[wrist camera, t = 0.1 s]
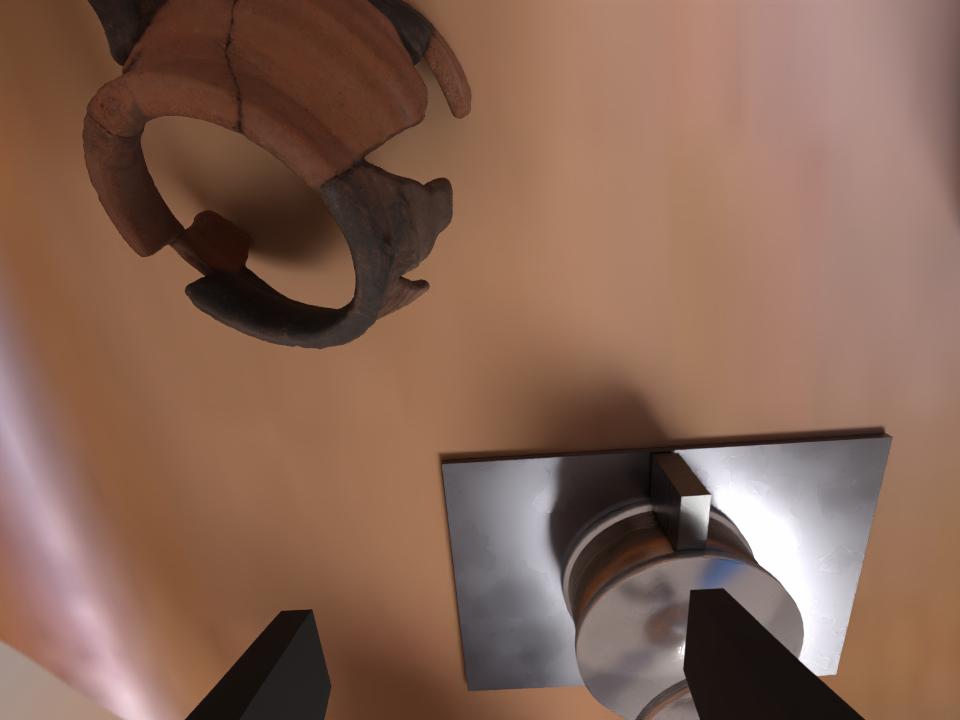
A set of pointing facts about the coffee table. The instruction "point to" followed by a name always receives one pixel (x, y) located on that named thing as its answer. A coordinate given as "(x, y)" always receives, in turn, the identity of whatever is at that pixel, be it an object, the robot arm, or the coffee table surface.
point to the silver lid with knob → (671, 705)
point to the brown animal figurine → (278, 141)
